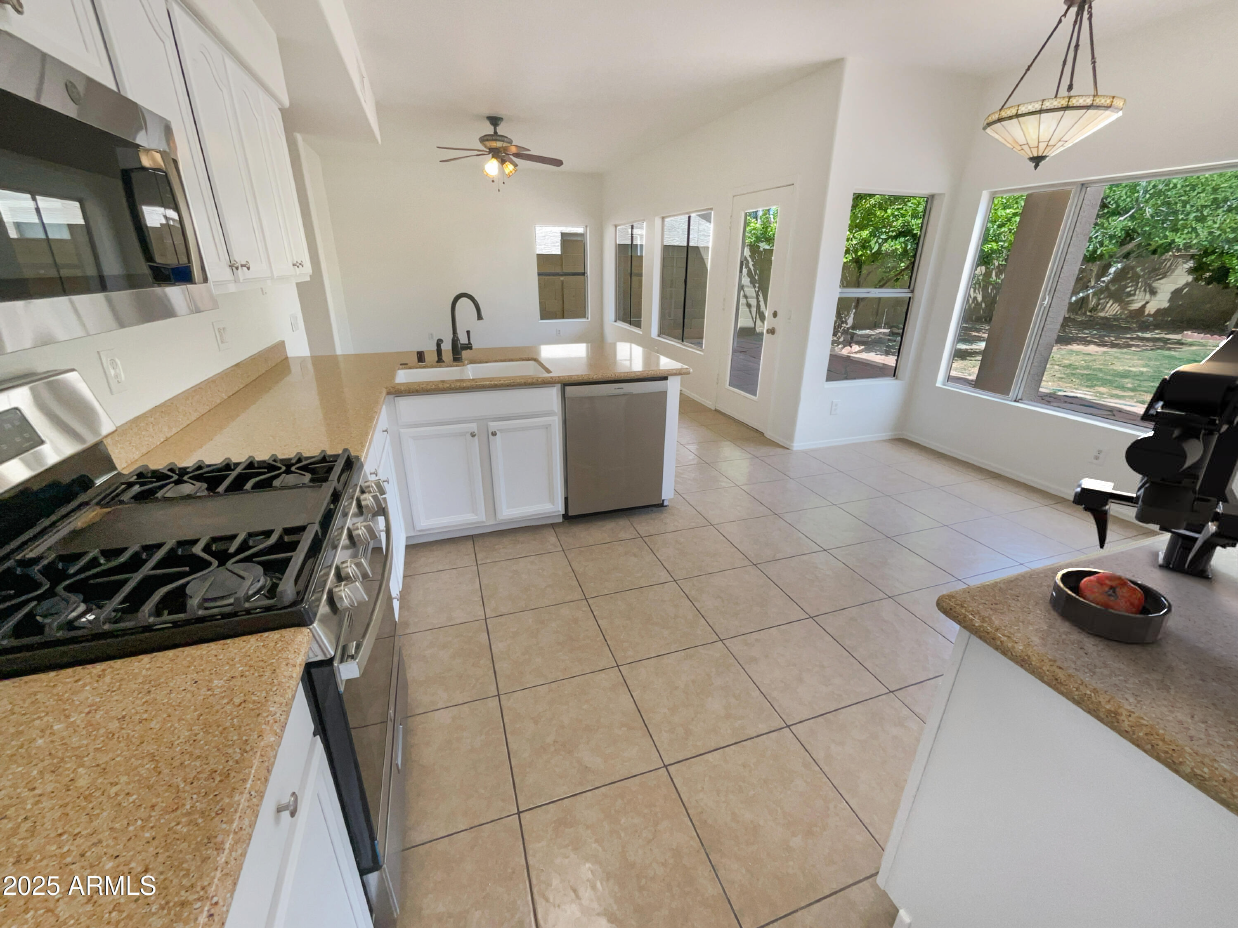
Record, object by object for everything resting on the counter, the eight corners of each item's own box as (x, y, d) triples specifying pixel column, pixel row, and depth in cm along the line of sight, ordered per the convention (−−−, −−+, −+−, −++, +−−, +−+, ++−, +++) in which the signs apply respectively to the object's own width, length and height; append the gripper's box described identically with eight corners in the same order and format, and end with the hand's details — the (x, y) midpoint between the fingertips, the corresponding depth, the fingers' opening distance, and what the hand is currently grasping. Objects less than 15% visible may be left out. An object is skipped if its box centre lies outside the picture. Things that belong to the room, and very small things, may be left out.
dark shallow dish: (1055, 584, 90) (1062, 559, 88) (1162, 615, 81) (1172, 588, 79) (1042, 619, 81) (1050, 592, 79) (1160, 658, 72) (1171, 629, 70)
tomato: (1072, 608, 86) (1062, 594, 80) (1098, 573, 85) (1090, 556, 79) (1127, 637, 80) (1121, 624, 74) (1156, 599, 79) (1153, 583, 73)
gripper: (1081, 462, 73) (1054, 558, 78) (1290, 496, 60) (1241, 607, 65) (1090, 443, 80) (1065, 531, 85) (1279, 469, 67) (1236, 571, 72)
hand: (1142, 557), depth 77 cm, fingers open, 9 cm apart
